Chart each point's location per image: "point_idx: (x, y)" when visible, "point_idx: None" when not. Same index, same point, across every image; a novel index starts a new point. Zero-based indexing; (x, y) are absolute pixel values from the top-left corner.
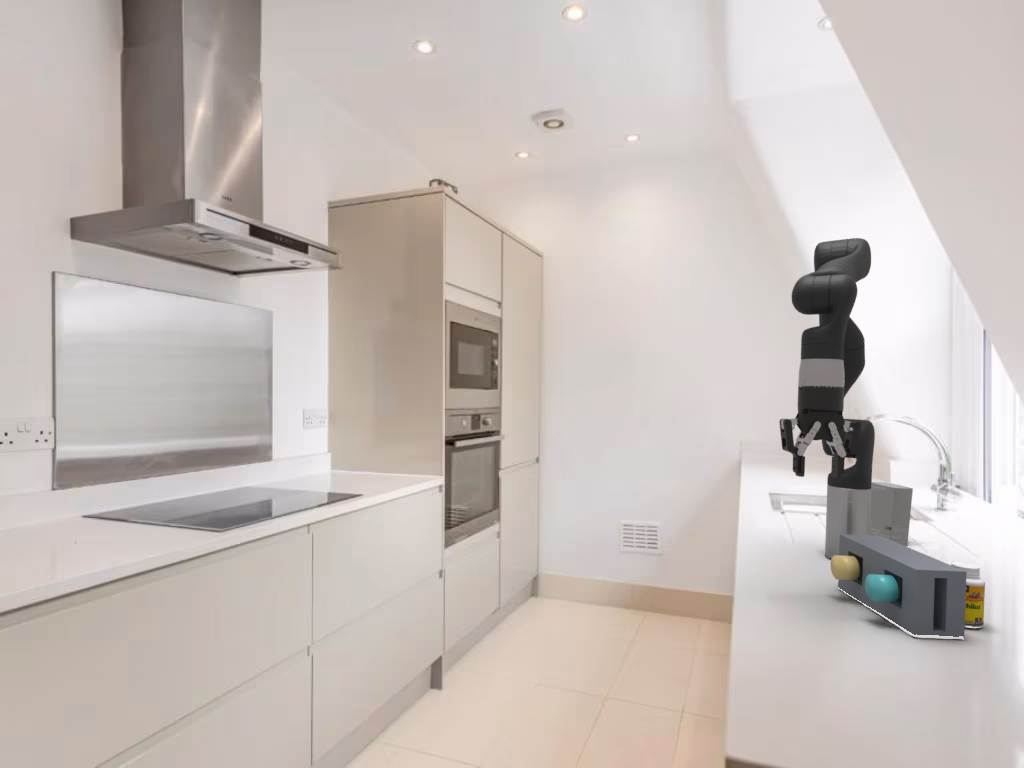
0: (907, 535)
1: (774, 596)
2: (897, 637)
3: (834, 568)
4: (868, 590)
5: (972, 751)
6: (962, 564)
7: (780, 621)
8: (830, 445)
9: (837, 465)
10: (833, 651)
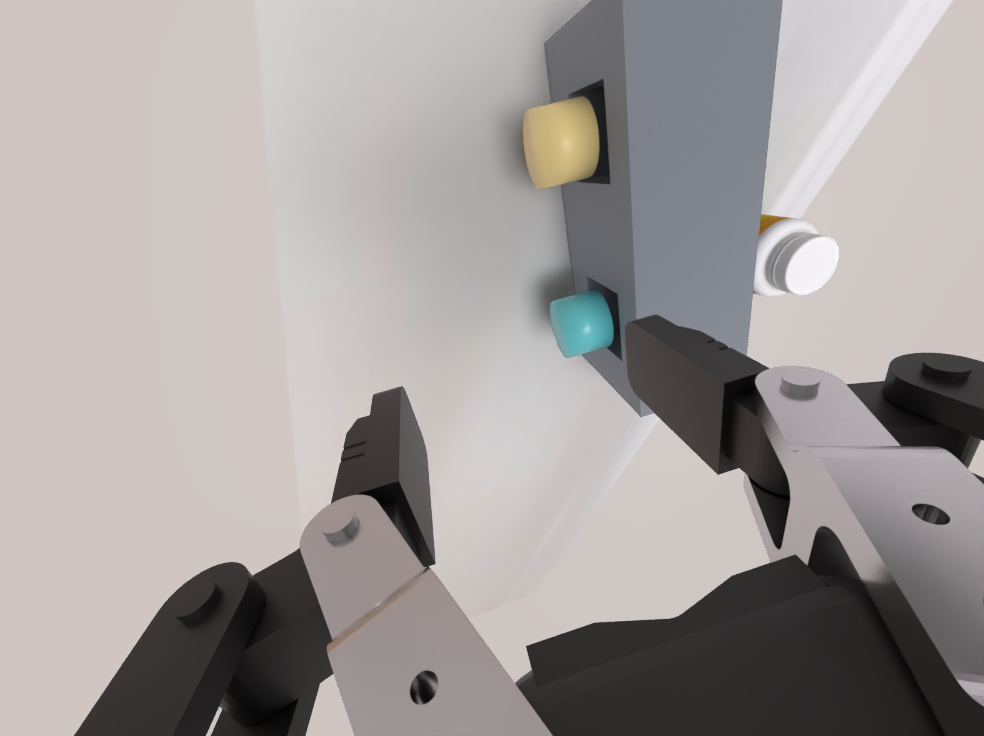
0: None
1: (358, 190)
2: (556, 360)
3: (530, 138)
4: (554, 313)
5: (509, 595)
6: (809, 263)
7: (365, 363)
8: (793, 486)
9: (676, 432)
10: (437, 454)
